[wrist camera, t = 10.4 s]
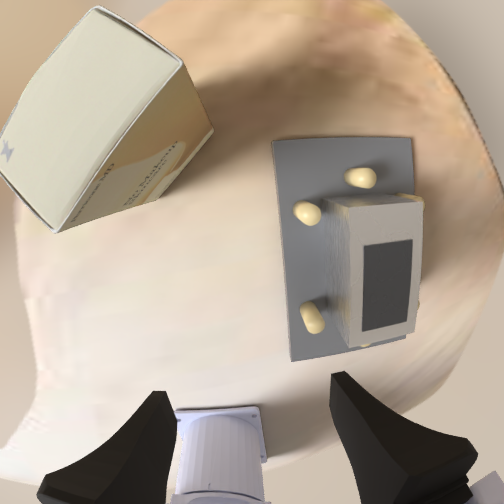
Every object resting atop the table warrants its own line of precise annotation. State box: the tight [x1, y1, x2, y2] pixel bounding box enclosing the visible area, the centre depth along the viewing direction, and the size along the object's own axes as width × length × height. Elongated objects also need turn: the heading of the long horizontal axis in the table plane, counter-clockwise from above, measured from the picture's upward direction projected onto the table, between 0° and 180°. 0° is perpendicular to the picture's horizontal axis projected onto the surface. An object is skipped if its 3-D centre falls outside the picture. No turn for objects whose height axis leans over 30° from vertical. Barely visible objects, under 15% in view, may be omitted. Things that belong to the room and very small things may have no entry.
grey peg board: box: [271, 137, 425, 362], centre depth 19 cm, size 16×10×3 cm, turn 6°
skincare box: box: [0, 6, 214, 234], centre depth 12 cm, size 6×4×12 cm
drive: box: [321, 193, 423, 348], centre depth 17 cm, size 8×4×5 cm, turn 7°
